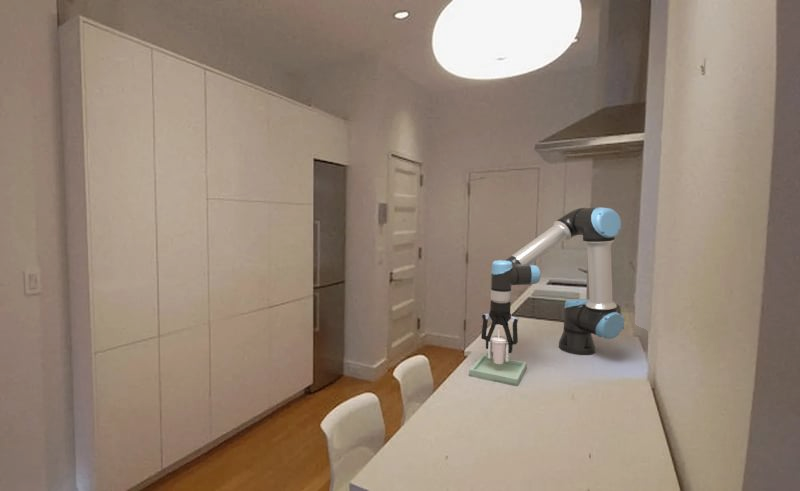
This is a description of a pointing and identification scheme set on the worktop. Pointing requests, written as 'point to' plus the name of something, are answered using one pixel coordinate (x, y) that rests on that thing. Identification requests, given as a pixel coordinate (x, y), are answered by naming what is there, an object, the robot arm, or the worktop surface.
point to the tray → (498, 370)
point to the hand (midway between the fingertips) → (498, 358)
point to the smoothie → (498, 348)
